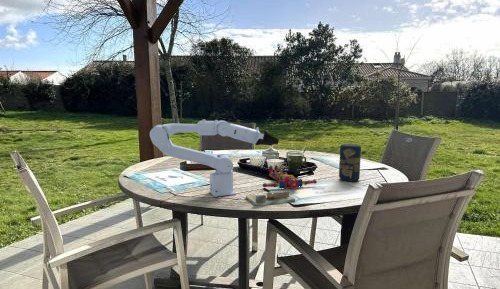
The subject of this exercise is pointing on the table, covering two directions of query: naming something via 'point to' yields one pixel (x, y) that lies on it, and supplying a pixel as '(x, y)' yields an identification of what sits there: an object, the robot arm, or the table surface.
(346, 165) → the canister
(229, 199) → the table surface
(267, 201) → the door board
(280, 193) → the swing latch
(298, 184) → the toy
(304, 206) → the table surface
